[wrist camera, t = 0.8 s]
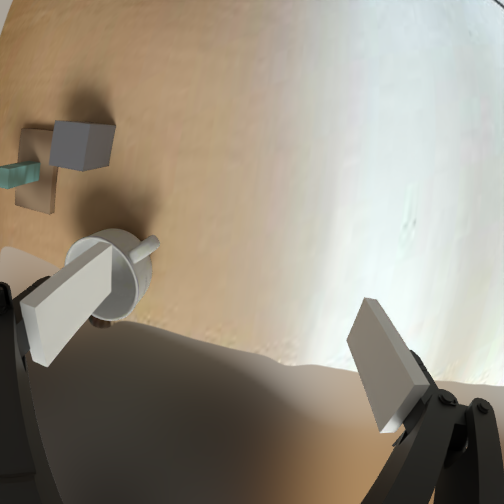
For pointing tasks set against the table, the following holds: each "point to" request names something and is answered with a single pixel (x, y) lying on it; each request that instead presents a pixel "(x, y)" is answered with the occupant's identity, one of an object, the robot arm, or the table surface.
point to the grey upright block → (81, 145)
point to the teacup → (121, 269)
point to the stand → (32, 172)
